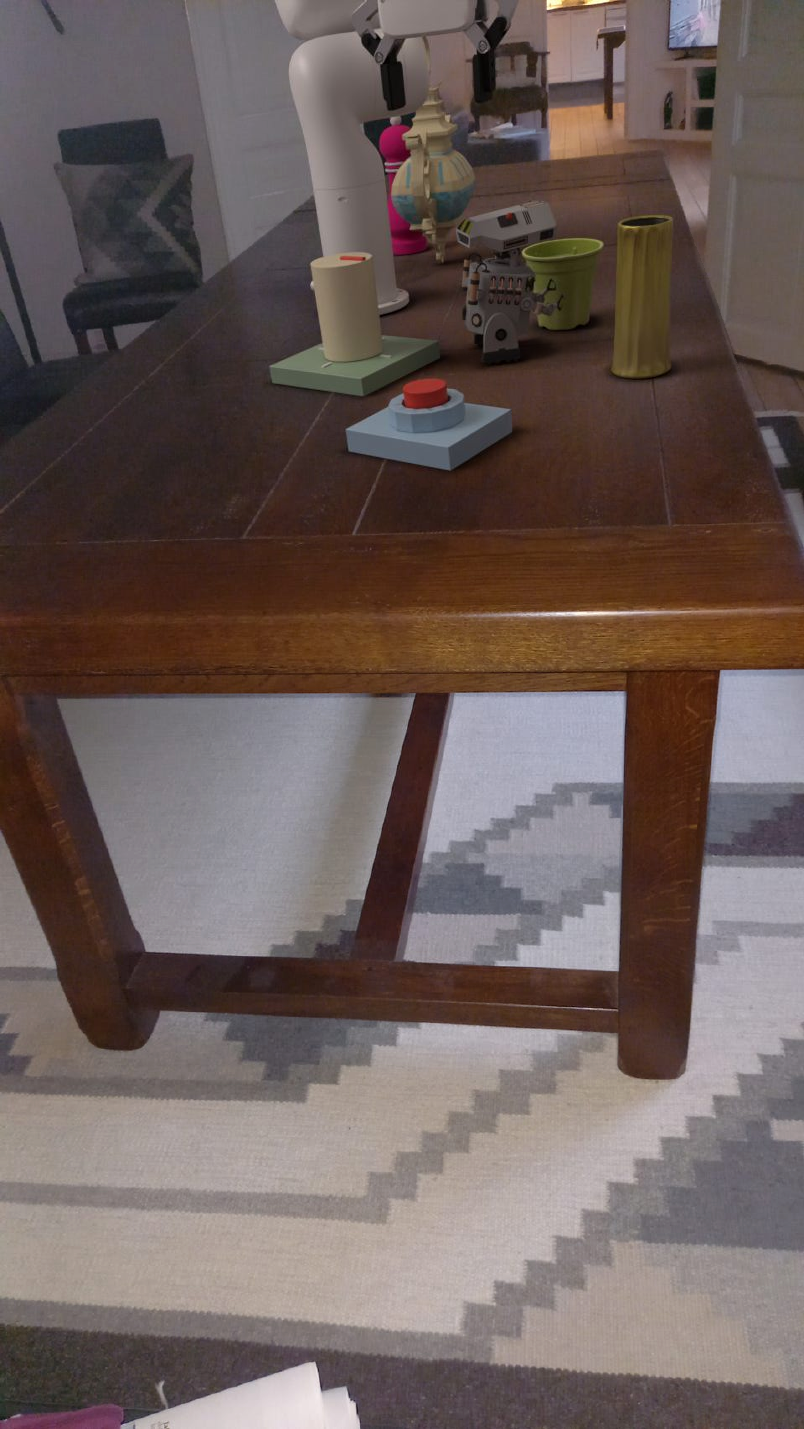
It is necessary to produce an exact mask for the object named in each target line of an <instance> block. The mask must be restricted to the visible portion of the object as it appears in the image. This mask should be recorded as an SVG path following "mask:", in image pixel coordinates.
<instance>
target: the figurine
mask: <svg viewBox="0 0 804 1429" xmlns="http://www.w3.org/2000/svg"><path fill="white" fill-rule="evenodd" d="M557 229H558V224H557V222H556V219H555V217H554V214H553V212H552V209H551V206H550V204H549V202H546V201H544V200H541V199H535V200H529V201H527V202H524V203H521V204H517V205H512V206H509V207H506V208H502V209H497V210H494V211H490V212H486V213H482V214H478V215H475V216H470V217H467V218H464V219H463V220H462V221H461V222H460V223H459V224H458V225H457V226H456V227H455V233H456V238H457V242H458V243H459V244H461V245H463V246H464V247H467V248H468V249H472V248H476V247H478V246H481V247H485V248H487V249H490V251H491V252H492V255H493V256H494V257H488V258H484V259H483V260H482V256H481V255H480V253H479V252H477V251H472V252H471V253H470V254H469V255H468V257H467V258H466V259H464V260H463V261H464V262H463V266H462V278H461V286H460V291H463V292H466V299H465V304H462V312H461V320H462V321H463V323H464V325H465V327H466V329H467V331H469V332H472V333H473V340H472V341H473V344H474V345H477V346H478V347H480V348H481V347H482V348H483V349H482V350H481V362H482V363H483V364H484V363H486V364H487V365H488V366H490V365H492V364H493V363H494V364H495V365H498V364H499V363H500V362H501V361H505V362H506V363H510V362H511V361H512V360H513V362H518V361H519V359H520V358H522V354H521V349H520V346H519V342H518V337H519V336H523V335H527V334H528V332H529V324H530V317H531V311H532V313H533V314H535V315H537V314H538V315H540V314H541V313H542V314H544V315H548V316H551V315H552V314H553V311H554V309H556V308H558V310H559V311H561V308H562V305H561V307H559V304H560V301H561V299H562V298H563V299H564V296H563V294H562V295H561V297H560V299H559V301H558V302H557V303H555V304H552V303H551V304H550V303H549V302H547V303H546V304H545V305H544V304H543V303H544V302H545V297H544V296H545V295H546V294H547V293H548V291H554V290H556V284H555V287H554V288H549V287H550V284H551V281H552V282H554V281H553V280H552V279H551V278H550V280H549V283H548V285H547V288H545V289H544V290H543V291H542V292H541V293H538V292H537V293H534V292H533V290H534V282H535V281H536V280H535V273H534V272H533V271H532V269H531V268H530V267H528V266H527V263H525V262H523V261H521V260H517V259H516V258H517V257H518V256H520V255H521V248H523V247H526V246H527V247H528V246H531V245H534V244H538V243H541V242H546V241H550V240H552V239H556V238H557V232H558V230H557ZM472 255H477V256H478V257H479V261H474V262H473V260H472V259H470V258H471V256H472ZM554 283H555V282H554Z"/></svg>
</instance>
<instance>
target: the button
mask: <svg viewBox="0 0 804 1429" xmlns="http://www.w3.org/2000/svg"><path fill="white" fill-rule="evenodd" d="M447 388H448V385H447V382H446V380H444V379H441V378H421V379H416V380H412V381H410V382H408V383H406V384H405V385H404V386H403V387H402V393H404V401H405V407H406V408H411V409H429V408H433V407H437V406H441V405H444V404H446V403H447V402H448V395H447Z"/></svg>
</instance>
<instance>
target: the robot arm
mask: <svg viewBox="0 0 804 1429" xmlns="http://www.w3.org/2000/svg"><path fill="white" fill-rule="evenodd" d="M494 1H495V2H496V3H497V4H498V10H497V14H496V17H495V19H494V20H493V22H492V23H491V24H490V26H489V25H488V24H487V23H488V21H489V19H490V9H491V6H490V0H274V3H275V5H276V9H277V11H278V14H279V17H280V19H281V21H282V24H283V26H284V27H285V29H286V31H287V32H288V33H289V35H290V36H291V37H293V38H294V39H296V40H300V41H305V42H303V43H302V44H300V45H299V46H298V47H297V48H296V49H295V51H294V52H293V53H292V55H291V57H290V60H289V66H288V81H289V87H290V92H291V95H292V96H291V97H292V99H293V103H294V105H295V109H296V113H297V116H298V119H299V123H300V127H301V130H302V135H303V139H304V144H305V148H306V154H307V160H308V165H309V171H310V172H309V173H310V178H311V184H312V189H313V198H314V204H315V210H316V217H317V224H318V231H319V236H320V244H321V250H322V255H323V256H322V257H325V256H329V255H334V254H340V253H349V252H365V253H369V254H371V255H372V259H373V267H374V276H375V284H376V292H377V301H378V309H379V316H381V315H386V314H389V313H392V312H393V313H394V312H395V311H399V310H401V309H402V308H404V307H406V306H407V305H408V304H409V303H410V295H409V292H408V291H407V290H406V289H403V288H398V286H397V278H396V276H397V275H396V269H395V268H396V266H395V259H394V254H393V249H392V237H391V230H390V221H389V212H388V194H387V184H386V176H385V169H384V164H383V159H382V157H381V155H380V153H379V151H378V149H377V148H376V146H375V145H374V144H373V143H372V141H371V140H370V139H369V137H368V136H366V134H365V133H364V132H363V129H362V128H361V127H360V125H362V124H365V123H369V122H373V121H380V120H384V119H390V118H391V117H397V116H400V117H401V116H406V115H410V114H413V113H414V112H415V113H416V111H417V110H418V109H419V108H421V107H422V105H423V104H424V103H425V101H426V99H427V96H428V93H429V86H430V82H431V74H430V75H429V67H428V61H427V56H426V50H425V44H424V41H423V39H422V38H421V37H424V36H426V37H430V36H440V35H448V34H449V35H450V34H455V33H460V32H463V33H464V35H466V37H467V38H468V39H469V41H470V42H471V43H472V45H473V46H474V48H475V49H476V54H473V56H472V72H473V73H472V74H473V77H472V78H473V92H474V94H473V96H474V102H475V103H477V104H484V103H486V102H489V101H492V100H493V96H494V95H493V94H494V92H495V90H496V88H497V78H496V77H497V76H496V74H497V73H496V56H495V51H497V50H498V49H499V46H500V43H501V41H502V40H503V39H504V37H505V36H506V34H507V33H508V31H509V30H510V28H511V26H512V20H513V18H514V16H515V12H516V10H517V7H518V4H519V2H520V0H494ZM309 286H310V290H311V291H314V292H315V290H314V284H313V280H311V282H310V285H309Z"/></svg>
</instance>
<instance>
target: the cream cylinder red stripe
mask: <svg viewBox="0 0 804 1429" xmlns="http://www.w3.org/2000/svg"><path fill="white" fill-rule="evenodd" d="M310 271H311V278H312V281H313V284H314V290H315V291H314V295H315V302H316V310H317V316H318V323H319V326H320V327H319V328H320V335H321V341H322V342H321V343H323V348H324V355H325V358H326V359H328V360H330V361H336V362H350V361H358V360H363V359H367V358H371V357H373V356H376V355H378V354H379V353H381V352H382V351H383V342H382V335H383V333H382V327H381V318H380V315H379V309H378V301H377V292H376V284H375V276H374V267H373V259H372V255H371V254H369V253H365V252H349V253H340V254H334V255H329V256H325V257H323V256H321V257H318V258H316V259H314V260H312V261H311V262H310Z"/></svg>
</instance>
